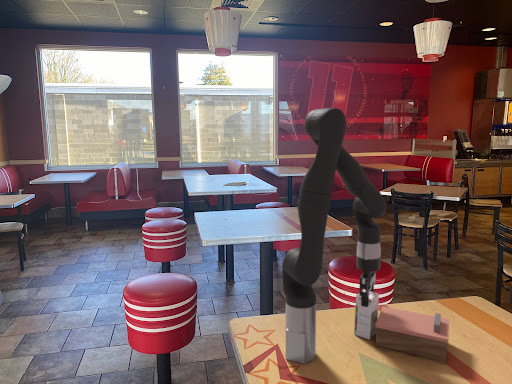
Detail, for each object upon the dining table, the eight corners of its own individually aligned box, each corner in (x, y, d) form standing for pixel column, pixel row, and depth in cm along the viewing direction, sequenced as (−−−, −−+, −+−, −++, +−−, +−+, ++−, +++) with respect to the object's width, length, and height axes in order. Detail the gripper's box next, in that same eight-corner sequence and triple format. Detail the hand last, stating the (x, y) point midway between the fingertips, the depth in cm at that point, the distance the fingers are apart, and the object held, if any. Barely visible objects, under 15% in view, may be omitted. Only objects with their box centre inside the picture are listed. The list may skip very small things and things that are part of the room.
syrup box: (361, 328, 133) (362, 288, 131) (377, 333, 130) (379, 293, 127) (353, 334, 129) (355, 294, 127) (370, 340, 125) (372, 299, 123)
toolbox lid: (448, 343, 111) (449, 331, 110) (375, 327, 120) (375, 316, 120) (449, 322, 123) (449, 312, 122) (382, 309, 132) (383, 299, 132)
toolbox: (445, 363, 112) (447, 343, 111) (375, 346, 122) (376, 328, 120) (446, 342, 124) (448, 323, 123) (382, 328, 133) (383, 310, 132)
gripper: (361, 246, 133) (361, 290, 135) (351, 259, 120) (351, 307, 123) (384, 249, 129) (382, 294, 132) (376, 262, 117) (375, 312, 120)
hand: (367, 300), depth 127 cm, fingers open, 8 cm apart
